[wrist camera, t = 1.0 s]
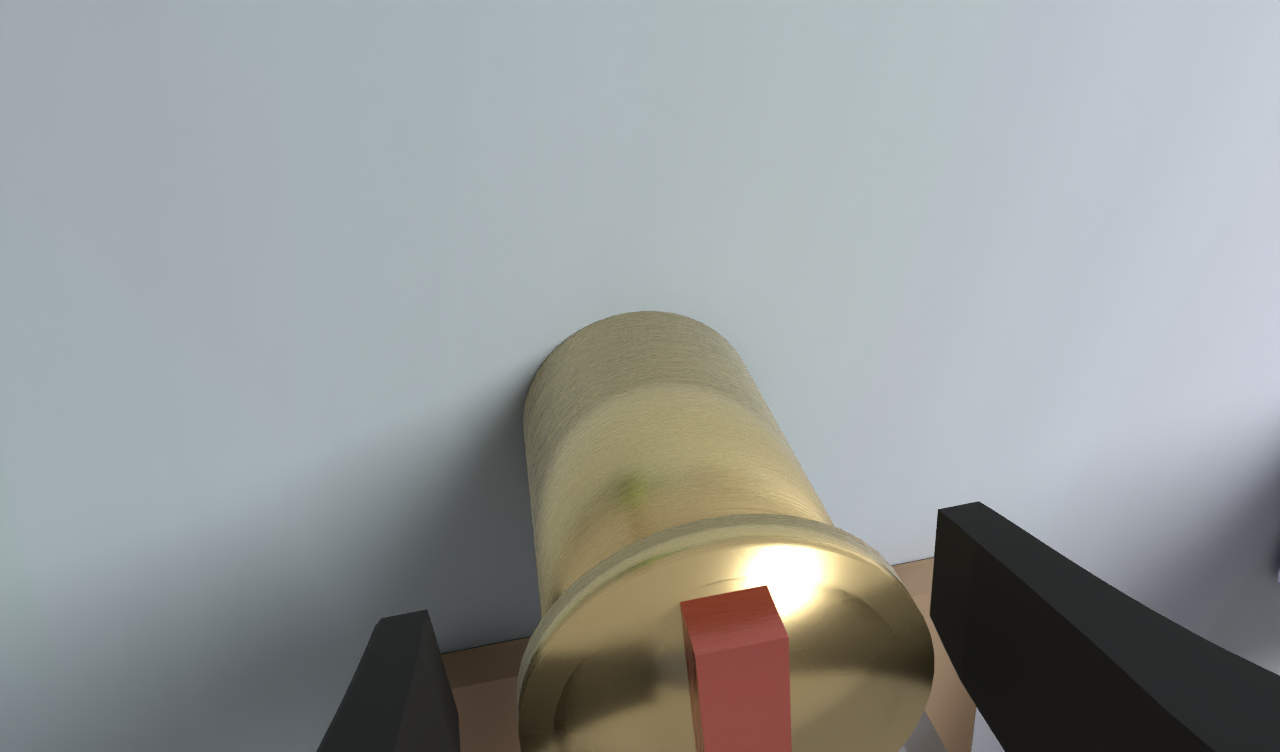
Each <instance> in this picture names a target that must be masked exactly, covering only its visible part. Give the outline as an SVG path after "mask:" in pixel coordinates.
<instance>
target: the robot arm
mask: <svg viewBox="0 0 1280 752" xmlns="http://www.w3.org/2000/svg"><path fill="white" fill-rule="evenodd" d="M1278 581H1279V583H1280V570H1279V573H1278ZM930 617H931V620H932V622H933V624H934V626H935V628H936V631H937V633H938V635H939V637H940V639H941V641H942V644H943V646H944V648H945V650H946V652H947V654H948V656H949V658H950V660H951V663H952V665H953V667H954V669H955V671H956V673H957V675H958V677H959V679H960V681H961V682H962V684H963V686H964V687H965V689H966V690H967V692H968V694H969V695H970V697H971V698H972V700H973V702H974V703H975V705H976V706H977V708H978V710H979V711H980V713H981V714H982V716H983V718H984V719H985V721H986V722H987V724H988V725H989V727H990V729H991V730H992V732H993V733H994V735H995V736H996V738H997V740H998V741H999V743H1000V744H1001V746H1002V747H1003V749H1004V750H1005V752H1280V676H1279V675H1277V674H1275V673H1273V672H1271V671H1268V670H1266V669H1264V668H1262V667H1260V666H1258V665H1256V664H1254V663H1252V662H1250V661H1248V660H1246V659H1243V658H1241V657H1239V656H1237V655H1235V654H1233V653H1231V652H1229V651H1227V650H1225V649H1223V648H1221V647H1219V646H1217V645H1215V644H1213V643H1211V642H1209V641H1207V640H1206V639H1204V638H1202V637H1200V636H1198V635H1196V634H1194V633H1193V632H1191V631H1189V630H1187V629H1185V628H1184V627H1182V626H1180V625H1178V624H1176V623H1175V622H1173V621H1171V620H1169V619H1167V618H1166V617H1164V616H1162V615H1160V614H1158V613H1157V612H1155V611H1153V610H1151V609H1149V608H1148V607H1146V606H1144V605H1143V604H1141V603H1139V602H1138V601H1136V600H1134V599H1132V598H1131V597H1129V596H1127V595H1126V594H1124V593H1122V592H1121V591H1119V590H1117V589H1116V588H1114V587H1112V586H1111V585H1109V584H1107V583H1106V582H1104V581H1103V580H1101V579H1099V578H1098V577H1096V576H1095V575H1093V574H1091V573H1090V572H1088V571H1087V570H1085V569H1083V568H1082V567H1080V566H1079V565H1077V564H1075V563H1074V562H1072V561H1071V560H1069V559H1068V558H1066V557H1065V556H1063V555H1061V554H1060V553H1058V552H1057V551H1055V550H1054V549H1052V548H1051V547H1049V546H1048V545H1046V544H1044V543H1043V542H1041V541H1040V540H1038V539H1037V538H1035V537H1034V536H1032V535H1031V534H1029V533H1028V532H1026V531H1025V530H1023V529H1021V528H1020V527H1018V526H1017V525H1015V524H1014V523H1012V522H1011V521H1009V520H1008V519H1006V518H1005V517H1003V516H1001V515H1000V514H998V513H997V512H995V511H994V510H992V509H990V508H989V507H987V506H986V505H984V504H982V503H981V502H974V503H969V504H963V505H958V506H953V507H948V508H943V509H938V517H937V529H936V541H935V554H934V566H933V578H932V591H931V603H930ZM316 752H460V734H459V716H458V710H457V707H456V704H455V700H454V697H453V694H452V690H451V687H450V684H449V680H448V677H447V674H446V670H445V667H444V664H443V660H442V657H441V654H440V651H439V647H438V644H437V641H436V637H435V634H434V631H433V627H432V624H431V621H430V617H429V614H428V611H427V610H422V611H417V612H412V613H407V614H402V615H397V616H392V617H387V618H382V619H381V620H380V621H379V622H378V623H377V625H376V626H375V628H374V630H373V633H372V635H371V638H370V640H369V642H368V645H367V647H366V649H365V652H364V654H363V656H362V659H361V661H360V663H359V666H358V668H357V670H356V672H355V674H354V677H353V679H352V681H351V683H350V685H349V687H348V689H347V692H346V694H345V696H344V698H343V700H342V702H341V704H340V706H339V708H338V710H337V712H336V714H335V716H334V718H333V720H332V722H331V724H330V726H329V728H328V730H327V732H326V734H325V736H324V738H323V740H322V742H321V744H320V746H319V748H318V749H317V751H316Z"/></svg>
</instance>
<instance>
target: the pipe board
mask: <svg viewBox="0 0 1280 752" xmlns="http://www.w3.org/2000/svg"><path fill="white" fill-rule="evenodd" d="M933 566H934V558H930V559H925V560H920V561H915V562H909V563H904V564H899V565H894V566H892V567H893V569H894V570H895V572H896V573H897V575H898V576H899V578H900V579H901V581H902V582H903V584H904V586H905V587H906V589H907V591H908V592H909V594H910V595H911V597H912V599H913V600H914V602H915V604H916V605H917V607H918V609H919V610H920V612H921V614H922V615H923V617H924V619H925V622H926V624H927V626H928V629H929V631H930V634H931V638H932V643H933V648H934V677H933V683H932V689H931V693H930V696H929V699H928V701H927V704H926V707H925V710H924V712H923V714H922V716H921V718H920V720H919V722H918V724H917V726H916V728H915V729H914V731H913V732H912V734H911V735H910V737H909V738H908V740H907V741H906V742H905V744H904V745H903V747H902V748H901V749H900V750H899V751H898V752H971V746H972V738H973V730H974V722H975V714H976V705H975V703H974V702H973V700H972V698H971V697H970V695H969V694H968V692H967V690H966V689H965V687H964V686H963V684H962V682H961V681H960V679H959V677H958V675H957V673H956V671H955V669H954V667H953V665H952V663H951V660H950V658H949V656H948V654H947V652H946V650H945V648H944V646H943V644H942V641H941V639H940V637H939V635H938V633H937V631H936V628H935V626H934V624H933V622H932V620H931V617H930V603H931V591H932V578H933ZM530 638H531V637H528V638H523V639H518V640H513V641H508V642H503V643H498V644H493V645H488V646H483V647H478V648H472V649H467V650H462V651H457V652H452V653H447V654H442V655H441V657H442V660H443V664H444V667H445V670H446V674H447V677H448V680H449V684H450V687H451V690H452V694H453V697H454V700H455V704H456V707H457V710H458V716H459V734H460V752H521V749H520V743H519V731H518V713H517V679H518V674H519V670H520V665H521V661H522V657H523V655H524V652H525V650H526V647H527V645H528V643H529V640H530Z"/></svg>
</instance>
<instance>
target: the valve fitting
mask: <svg viewBox="0 0 1280 752" xmlns="http://www.w3.org/2000/svg"><path fill="white" fill-rule="evenodd" d="M523 430H524V440H525V451H526V461H527V472H528V482H529V492H530V503H531V513H532V523H533V534H534V544H535V555H536V565H537V575H538V586H539V596H540V607H541V617H542V619H541V621H540V623H539V624H538V626H537V628H536V629H535V631H534V633H533V634H532V636H531V638H530V640H529V643H528V645H527V647H526V650H525V652H524V655H523V657H522V661H521V665H520V670H519V674H518V679H517V713H518V731H519V743H520V749H521V752H898V751H899V750H900V749H901V748H902V747H903V745H904V744H905V742H906V741H907V740H908V738H909V737H910V735H911V734H912V732H913V731H914V729H915V728H916V726H917V724H918V722H919V720H920V718H921V716H922V714H923V712H924V710H925V707H926V704H927V701H928V699H929V696H930V693H931V689H932V683H933V677H934V648H933V643H932V638H931V634H930V631H929V629H928V626H927V624H926V622H925V619H924V617H923V615H922V614H921V612H920V610H919V609H918V607H917V605H916V604H915V602H914V600H913V599H912V597H911V595H910V594H909V592H908V591H907V589H906V587H905V586H904V584H903V582H902V581H901V579H900V578H899V576H898V575H897V573H896V572H895V570H894V569H893V567H892V566H891V565H890V564H889V563H888V562H887V561H886V560H885V559H884V558H883V557H882V556H881V555H880V554H879V552H877V551H876V550H874V549H873V548H872V547H870V546H869V545H868V544H866V543H865V542H864V541H862V540H861V539H859V538H857V537H855V536H853V535H851V534H849V533H847V532H846V531H844V530H842V529H839V528H836V527H835V526H834V524H833V523H832V521H831V519H830V517H829V515H828V514H827V512H826V510H825V508H824V506H823V505H822V503H821V501H820V499H819V498H818V496H817V494H816V492H815V490H814V489H813V487H812V485H811V483H810V481H809V480H808V478H807V476H806V474H805V472H804V471H803V469H802V467H801V465H800V463H799V462H798V460H797V458H796V456H795V454H794V453H793V451H792V449H791V447H790V445H789V444H788V442H787V440H786V438H785V436H784V435H783V433H782V431H781V429H780V427H779V426H778V424H777V422H776V420H775V419H774V417H773V415H772V413H771V411H770V410H769V408H768V406H767V404H766V402H765V401H764V399H763V397H762V395H761V393H760V392H759V390H758V388H757V386H756V384H755V383H754V381H753V379H752V377H751V375H750V374H749V372H748V370H747V368H746V366H745V365H744V363H743V361H742V359H741V358H740V356H739V355H738V353H737V352H736V350H735V349H734V348H733V347H732V346H731V345H730V344H729V343H728V341H727V340H726V339H725V338H723V337H722V336H721V335H720V334H718V333H717V332H716V331H715V330H713V329H711V328H709V327H708V326H706V325H704V324H703V323H700V322H698V321H696V320H693V319H691V318H688V317H685V316H681V315H677V314H673V313H666V312H656V311H641V312H632V313H625V314H620V315H616V316H612V317H609V318H606V319H603V320H600V321H597V322H595V323H593V324H591V325H589V326H587V327H585V328H583V329H581V330H580V331H578V332H576V333H575V334H573V335H572V336H570V337H569V338H567V339H566V340H565V341H564V342H563V343H562V344H560V345H559V346H558V347H557V348H556V349H555V350H554V351H553V352H552V353H551V354H550V355H549V356H548V357H547V359H546V360H545V361H544V363H543V364H542V365H541V367H540V368H539V370H538V371H537V373H536V375H535V377H534V379H533V381H532V383H531V385H530V387H529V390H528V393H527V396H526V400H525V405H524V411H523Z"/></svg>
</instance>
